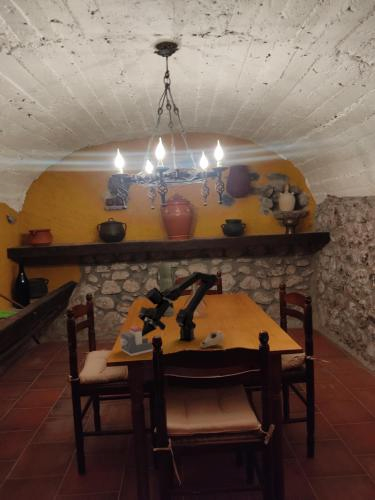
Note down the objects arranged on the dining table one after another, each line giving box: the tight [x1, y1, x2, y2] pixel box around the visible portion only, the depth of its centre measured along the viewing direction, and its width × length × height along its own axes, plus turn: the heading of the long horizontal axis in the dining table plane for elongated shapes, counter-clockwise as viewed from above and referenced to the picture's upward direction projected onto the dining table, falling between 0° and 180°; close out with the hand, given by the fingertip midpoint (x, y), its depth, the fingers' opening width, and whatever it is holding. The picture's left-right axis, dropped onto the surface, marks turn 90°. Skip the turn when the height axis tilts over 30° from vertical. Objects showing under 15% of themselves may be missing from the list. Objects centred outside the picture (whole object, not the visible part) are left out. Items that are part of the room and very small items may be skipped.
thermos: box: [156, 261, 176, 318], centre depth 271 cm, size 9×12×35 cm
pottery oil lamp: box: [199, 330, 225, 349], centre depth 204 cm, size 9×12×7 cm
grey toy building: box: [121, 331, 153, 354], centre depth 201 cm, size 14×10×8 cm
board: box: [121, 348, 153, 357], centre depth 202 cm, size 14×10×1 cm
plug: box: [120, 325, 143, 346], centre depth 199 cm, size 9×6×10 cm, turn 124°
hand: (141, 335), depth 202 cm, fingers closed
